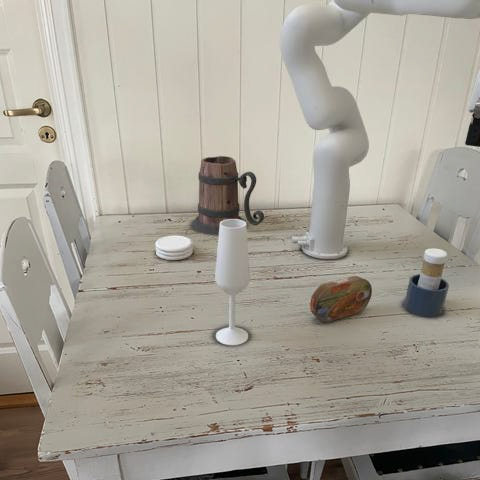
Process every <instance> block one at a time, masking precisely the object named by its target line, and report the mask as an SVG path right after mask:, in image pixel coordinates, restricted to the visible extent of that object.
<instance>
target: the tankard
mask: <svg viewBox="0 0 480 480" xmlns="http://www.w3.org/2000/svg"><path fill="white" fill-rule="evenodd" d="M248 177H249V178H250V186H249V188H248V185H247V182H248ZM239 185H240V187H241V188H242V189H244V190H245V189H247V188H248V190H247V191H246V193H245V195H244V200H243V211H244V215H245V219H246V221H247V222H248V223H249V224H250V225H251V226H254V227H255V226H259V225H260V224H261V223H263V222H264V220H265V214H264V212H263V211H262V210H258V209H257V210H256V211H255V212H253V214H251V210H250V199H251V195H252V192H254V189H255V188H256V185H257V176H256V174H255V173H254V172H252V171H246V172H244V173H242V174H241V175H240V176H239V172H238V168H237V161H236V159H234V158H233V157H230V156H225V155H219V156H208V157H204V158H201V161H200V168H199V171H198V204H197V211H198V216H196V218H195V219H194V221H193V222H192V223H191V227H192V229H193V230H194V231H197V232H199V233H202V234H206V235H213V236H215V235H216V236H219V227H220V222H221V221H223V220H227V219H239V220H242V221H244V220H243V218H242V217H241V216H240V203H239ZM257 216H258V217H257Z"/></svg>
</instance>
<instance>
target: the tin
mask: <svg viewBox="0 0 480 480" xmlns="http://www.w3.org/2000/svg"><path fill="white" fill-rule="evenodd" d="M372 287H373V286H372V284H371V282H370V281H369V280H367V279H365V278H362V277H361V276H357V275H352V276H348V277H343V278H341V279H340V278H339V279H337V280H333V281H328V282H325V283H322V284H321V285H319V286H318V287H317V288H316V289H315V290H314V292H313V293H312V295H311V296H310V297H311V298H310V303H309V306H310V307H309V308H310V312H311V314H312V315H313V316H314V317H315V318H317V319H318V320H319V321H321V322H323V323H331V322H335V321H337V320H340V319H344V318H347V317H350V316H354V315H357V314H359V313H361V312H362V311H363V310H364V309H366V307H367V306H368V304H369V302H370V300H371V298H372V294H373V289H372Z"/></svg>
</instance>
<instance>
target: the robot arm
mask: <svg viewBox="0 0 480 480" xmlns="http://www.w3.org/2000/svg"><path fill="white" fill-rule="evenodd" d="M371 14H378V15H379V14H380V15H388V16H389V15H390V16H406V15H417V16H418V15H419V16H430V17H439V18H450V19H463V20H464V19H465V20H477V19H480V0H331V1H330V2H329V3H328V4H319V3H306V4H305V3H304V4H301V5H299V6H296V7H295V8H293V10H292V11H290V12H289V13H288V15H287V16H286V17H285V20H284V22H283V24H282V27H281V30H280V36H279V49H280V54H281V59H282V61H283V64H284V66H285V69H286V71H287V73H288V76H289V78H290V81H291V83H292V87H293V89H294V93H295V95H296V98H297V102H298V104H299V106H300V110H301V112H302V115H303V118H304V120H305V123H306V124H307V125H308V127H309V128H310V129H312V130H314V131H324V130H328V132H329V133H327V134H325V135H323V136H322V137H321V138H320V139H319V140H317V143H316V144H315V146H314V149H313V153H312V167H313V184H312V185H313V187H312V198H311V208H310V220H309V229H308V230H309V231H306V233H305V234H303V235H302V236H297V235H296V236H291V244H297V247H301V251H302V252H303V253H304V254H306V255H307V256H309V257H311V258H315V259H319V260H336V259H341V258H343V257H345V256H346V255H347V254H348V246H347V245H346V244H345V243H344V236H345V229H346V222H347V214H348V209H349V208H348V207H349V199H350V192H351V177H350V168H351V167H353V166H355V165H358V164H360V163H361V162H362V161H363V160H364V159H366V157H367V155H368V153H369V151H370V150H369V148H370V142H369V137H368V133H367V130H366V127H365V124H364V121H363V118H362V115H361V112H360V109H359V106H358V104H357V101H356V99H355V97H354V96H353V94H352V93H351V91H350V90H348V89H347V88H346V87H343V86H338V85H336V86H335V85H334V86H333V85H332V83H331V80H330V79H329V75H328V73H327V69H326V66H325V64H324V62H323V60H322V59H321V58H320V56H319V55H318V53H317V50H316V47H326V46H332V45H335V44H336V43H338V42H339V41H341V40H342V39H343V38H345V36H346V35H348V34H349V33H350V32H351V31H352V30H353V29H355V28H356V27H357V26H358V25H359V24H360V23H362V22H363V20H365V19H366V18H367V17H368V16H369V15H371ZM467 111H468V112H469V113H470V114H471V117H470V118H471V119H470V122H469V125H468V129H467V133H466V137H465V141H464V145H465V146H469V147H475V148H480V67H479V69H478V72H477V75H476V79H475V82H474V86H473V89H472V93H471V97H470V100H469V104H468V107H467Z"/></svg>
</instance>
